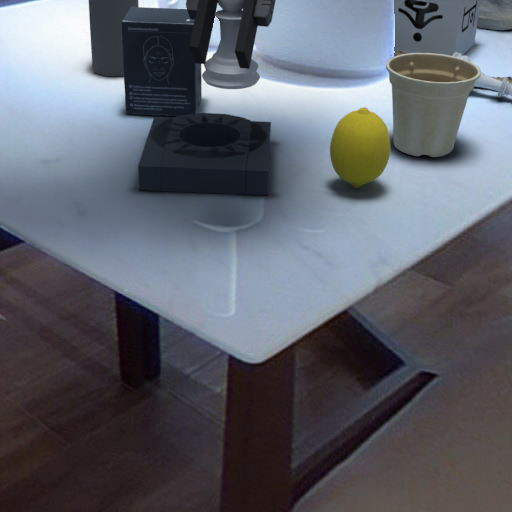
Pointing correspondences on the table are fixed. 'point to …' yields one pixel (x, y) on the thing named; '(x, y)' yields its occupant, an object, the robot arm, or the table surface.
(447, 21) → the icon cube
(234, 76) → the chess piece
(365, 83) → the table surface
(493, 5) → the sneaker
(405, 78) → the flower pot
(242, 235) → the table surface
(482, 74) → the chess piece
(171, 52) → the box
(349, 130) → the lemon
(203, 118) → the dark grey holder base
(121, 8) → the bottle
